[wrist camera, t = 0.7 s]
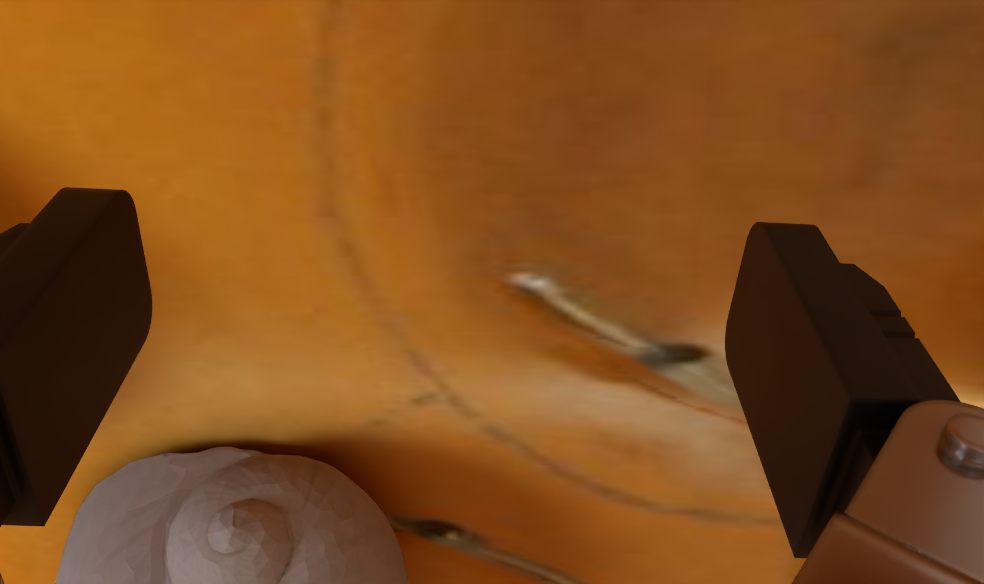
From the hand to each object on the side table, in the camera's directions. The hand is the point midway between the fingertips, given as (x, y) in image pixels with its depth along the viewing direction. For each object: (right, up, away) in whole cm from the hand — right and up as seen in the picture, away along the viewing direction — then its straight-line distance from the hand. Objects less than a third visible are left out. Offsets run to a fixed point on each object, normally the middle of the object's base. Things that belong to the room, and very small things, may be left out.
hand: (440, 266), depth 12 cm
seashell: (-11, -12, +29) cm, 33 cm away
